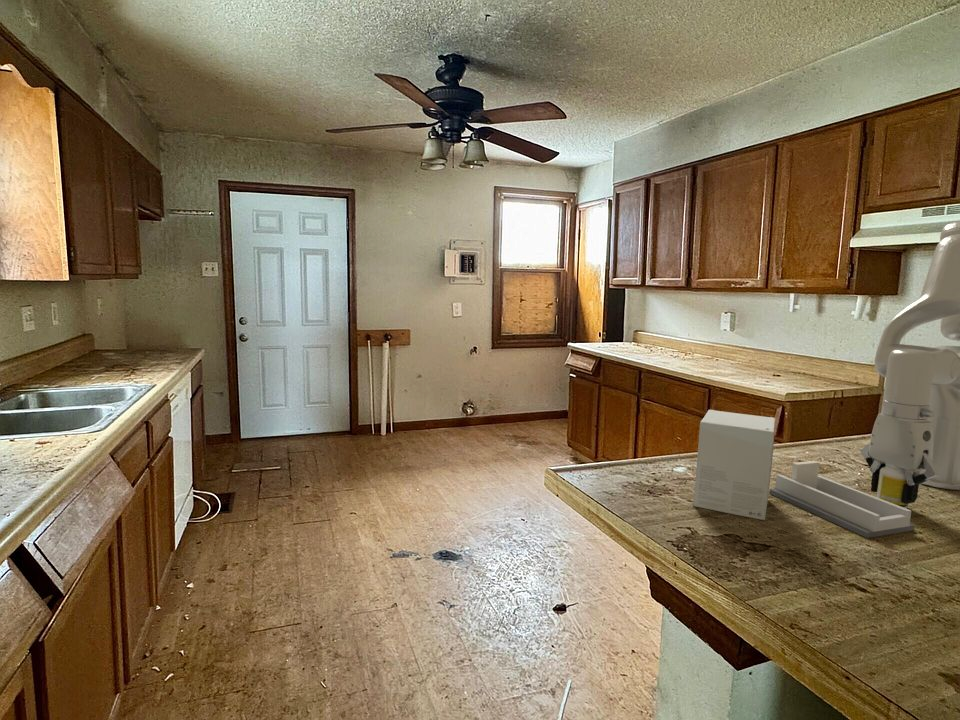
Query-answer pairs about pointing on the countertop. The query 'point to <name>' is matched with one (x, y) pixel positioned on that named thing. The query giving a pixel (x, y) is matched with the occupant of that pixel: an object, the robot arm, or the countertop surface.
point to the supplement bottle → (891, 484)
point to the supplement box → (734, 463)
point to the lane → (845, 506)
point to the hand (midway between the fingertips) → (892, 495)
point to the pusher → (806, 473)
